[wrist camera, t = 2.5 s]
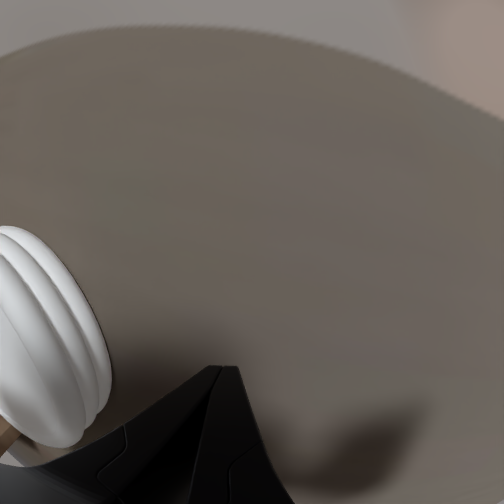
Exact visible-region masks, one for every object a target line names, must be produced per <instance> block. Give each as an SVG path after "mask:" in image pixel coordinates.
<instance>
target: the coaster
mask: <svg viewBox="0 0 504 504" xmlns="http://www.w3.org/2000/svg"><path fill="white" fill-rule="evenodd" d="M111 384H112V372H111V364H110V359H109V354H108V351H107V347H106V344H105V340H104V338H103V335H102V332H101V330H100V327H99V324H98V322H97V320H96V318H95V316H94V314H93V311H92V309H91V307H90V305H89V304H88V302H87V300H86V298H85V296H84V294H83V293H82V291H81V289H80V288H79V286H78V285H77V283H76V281H75V280H74V278H73V276H72V275H71V274H70V272H69V271H68V270H67V268H66V267H65V265H64V264H63V263H62V262H61V260H60V259H59V258H58V257H57V256H56V255H55V253H54V252H53V251H52V250H51V249H50V248H49V247H48V246H47V245H46V244H45V243H44V242H43V241H41V240H40V239H39V238H37V237H36V236H35V235H33V234H32V233H30V232H28V231H26V230H24V229H21V228H18V227H13V226H1V227H0V415H2V416H3V417H4V418H5V419H6V420H7V421H8V422H9V423H10V424H11V425H12V426H14V427H15V428H16V429H17V430H19V431H20V432H21V433H23V434H24V435H26V436H27V437H29V438H30V439H32V440H34V441H36V442H38V443H40V444H42V445H45V446H49V447H55V448H68V447H70V446H72V445H74V444H76V443H77V442H78V441H79V440H80V439H81V437H82V435H83V433H84V429H86V428H87V427H89V426H90V425H91V424H92V423H93V421H94V419H95V418H96V414H97V413H99V412H100V411H101V410H102V409H103V408H104V407H105V405H106V403H107V401H108V398H109V394H110V390H111Z"/></svg>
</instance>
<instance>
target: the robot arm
mask: <svg viewBox="0 0 504 504" xmlns="http://www.w3.org/2000/svg"><path fill="white" fill-rule="evenodd" d="M0 504H295V503H294V502H293V500H292V499H291V497H290V496H289V494H288V493H287V491H286V489H285V488H284V486H283V485H282V483H281V481H280V479H279V477H278V476H277V474H276V472H275V470H274V468H273V466H272V463H271V461H270V459H269V456H268V454H267V451H266V448H265V446H264V443H263V440H262V438H261V435H260V432H259V429H258V426H257V423H256V420H255V417H254V414H253V411H252V408H251V405H250V402H249V399H248V396H247V393H246V390H245V387H244V384H243V381H242V378H241V374H240V371H239V368H238V367H237V366H224V367H222V366H216V365H209V366H207V367H205V368H204V369H203V370H201V371H200V372H198V373H197V374H196V375H194V376H193V377H192V378H190V379H189V380H187V381H186V382H185V383H183V384H182V385H180V386H179V387H177V388H176V389H175V390H173V391H172V392H170V393H169V394H167V395H166V396H165V397H163V398H162V399H160V400H159V401H157V402H156V403H154V404H153V405H151V406H150V407H148V408H147V409H145V410H144V411H142V412H141V413H139V414H138V415H136V416H135V417H133V418H132V419H130V420H128V421H127V422H125V423H124V424H123V425H121V426H119V427H117V428H116V429H114V430H113V431H111V432H109V433H108V434H106V435H104V436H102V437H101V438H99V439H97V440H95V441H93V442H91V443H89V444H87V445H85V446H83V447H81V448H79V449H77V450H75V451H72V452H70V453H68V454H65V455H63V456H61V457H58V458H56V459H54V460H51V461H49V462H46V463H44V464H41V465H38V466H33V467H16V466H10V465H6V464H1V463H0Z"/></svg>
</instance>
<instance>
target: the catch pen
mask: <svg viewBox="0 0 504 504" xmlns="http://www.w3.org/2000/svg"><path fill="white" fill-rule="evenodd" d="M21 434H22V433H21V432H20V431H19V430H17V429H16V428H15V427H14V426H12V425H11V424H10V423H9V422H8V421H7V420H6V419H5V418H4V417H3V416H2V415H0V457H1V456H2V455H3V454H4V453H5V452H6V450H7V449H8V448H9V447H10V446H11V445H12V444H13V443H14V441H15V440H16V439H17V438H18V437H19V436H20V435H21Z"/></svg>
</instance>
